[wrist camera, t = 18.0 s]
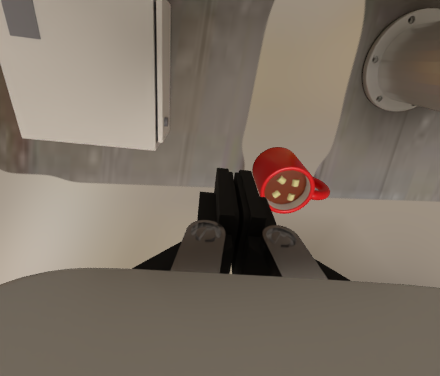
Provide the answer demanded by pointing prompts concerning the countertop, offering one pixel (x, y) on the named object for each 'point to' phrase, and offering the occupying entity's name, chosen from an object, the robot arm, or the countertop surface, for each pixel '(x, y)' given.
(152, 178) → the countertop surface
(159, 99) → the drawer
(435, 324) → the robot arm
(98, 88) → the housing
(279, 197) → the mug
